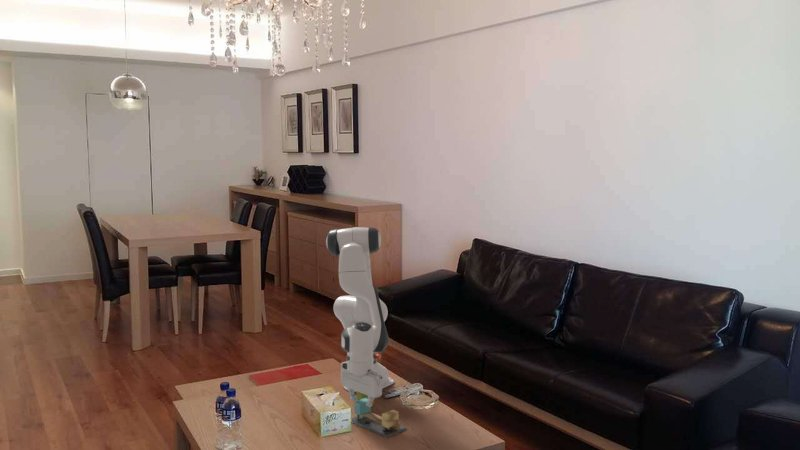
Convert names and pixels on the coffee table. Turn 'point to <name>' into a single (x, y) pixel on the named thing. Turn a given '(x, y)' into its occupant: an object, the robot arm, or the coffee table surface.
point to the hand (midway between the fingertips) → (360, 403)
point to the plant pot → (362, 397)
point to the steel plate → (376, 426)
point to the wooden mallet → (386, 419)
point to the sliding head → (361, 407)
